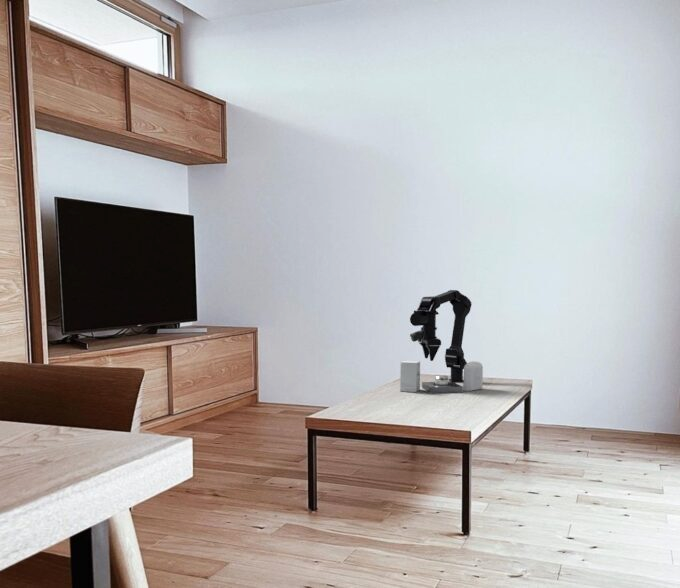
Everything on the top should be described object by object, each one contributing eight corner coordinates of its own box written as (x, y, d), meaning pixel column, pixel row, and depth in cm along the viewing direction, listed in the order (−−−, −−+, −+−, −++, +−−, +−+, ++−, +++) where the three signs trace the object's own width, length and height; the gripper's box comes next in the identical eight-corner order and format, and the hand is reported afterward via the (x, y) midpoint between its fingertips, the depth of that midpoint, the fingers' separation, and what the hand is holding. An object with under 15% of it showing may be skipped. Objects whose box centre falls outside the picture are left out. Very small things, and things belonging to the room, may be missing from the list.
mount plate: (422, 387, 302) (422, 382, 302) (452, 387, 304) (452, 381, 304) (430, 393, 288) (430, 387, 288) (462, 392, 290) (462, 386, 290)
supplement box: (416, 392, 290) (416, 362, 289) (399, 391, 292) (399, 362, 292) (420, 389, 297) (420, 360, 296) (403, 388, 299) (403, 360, 299)
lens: (433, 389, 299) (433, 375, 298) (445, 389, 299) (445, 375, 299) (437, 391, 293) (437, 377, 293) (449, 391, 294) (449, 377, 294)
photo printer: (475, 387, 303) (476, 360, 302) (483, 389, 300) (484, 361, 299) (461, 390, 296) (462, 362, 295) (470, 391, 292) (470, 363, 292)
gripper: (406, 323, 314) (406, 357, 314) (416, 326, 295) (416, 362, 296) (430, 323, 315) (430, 357, 316) (441, 326, 297) (441, 362, 297)
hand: (428, 359), depth 306 cm, fingers open, 9 cm apart
